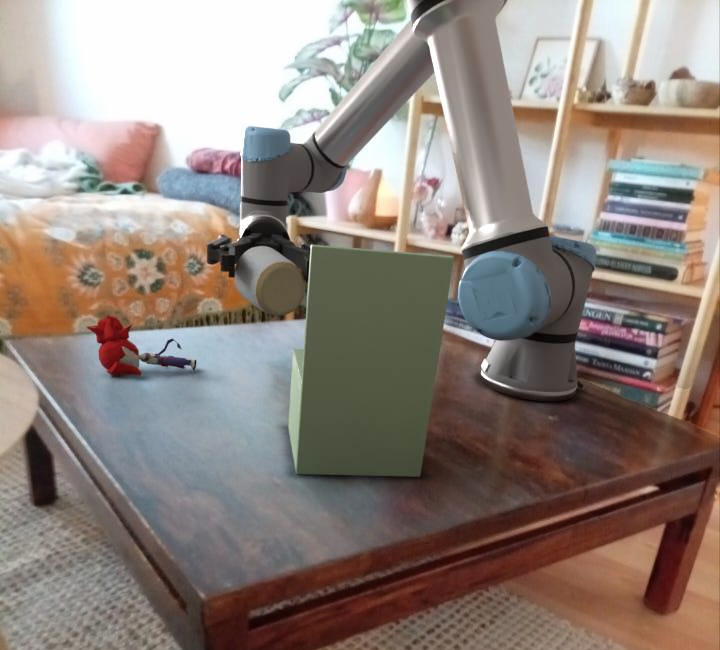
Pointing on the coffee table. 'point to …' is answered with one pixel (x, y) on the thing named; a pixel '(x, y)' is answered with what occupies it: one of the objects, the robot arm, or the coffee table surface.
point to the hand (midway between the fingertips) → (271, 269)
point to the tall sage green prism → (367, 361)
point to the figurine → (128, 350)
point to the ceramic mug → (270, 281)
